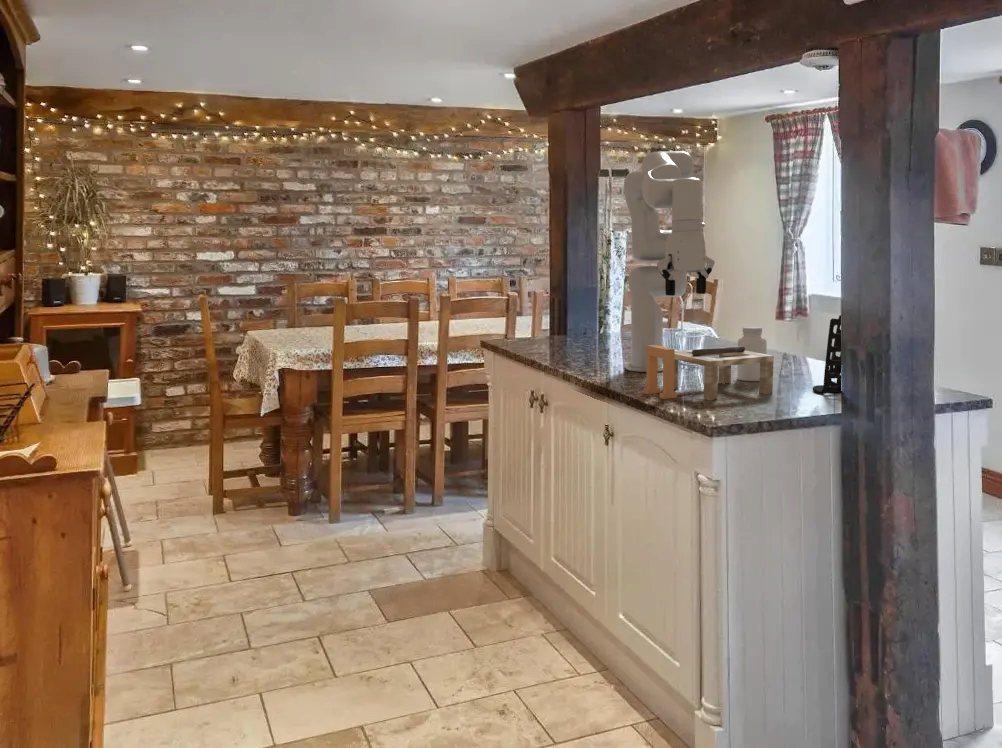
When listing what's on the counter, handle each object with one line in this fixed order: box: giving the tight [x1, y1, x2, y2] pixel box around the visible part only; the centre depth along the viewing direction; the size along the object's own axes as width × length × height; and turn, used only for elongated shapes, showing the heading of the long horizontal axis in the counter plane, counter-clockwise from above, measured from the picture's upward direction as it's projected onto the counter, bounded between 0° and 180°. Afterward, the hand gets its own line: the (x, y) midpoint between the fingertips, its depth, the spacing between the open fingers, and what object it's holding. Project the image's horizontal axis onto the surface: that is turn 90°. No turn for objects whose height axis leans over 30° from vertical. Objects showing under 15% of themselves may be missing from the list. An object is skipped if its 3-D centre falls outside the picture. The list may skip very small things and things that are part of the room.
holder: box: [812, 314, 842, 396], centre depth 244 cm, size 11×8×20 cm
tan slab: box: [643, 345, 678, 400], centre depth 244 cm, size 4×10×13 cm, turn 23°
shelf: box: [674, 345, 774, 401], centre depth 249 cm, size 20×20×12 cm
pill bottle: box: [736, 326, 767, 382], centre depth 265 cm, size 8×8×15 cm
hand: (685, 294), depth 241 cm, fingers open, 9 cm apart
